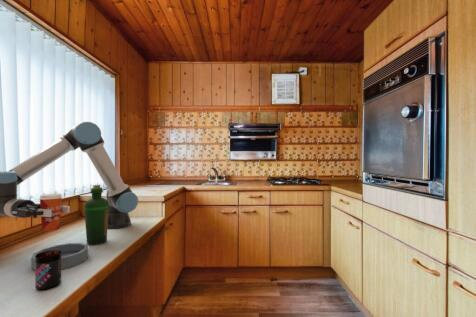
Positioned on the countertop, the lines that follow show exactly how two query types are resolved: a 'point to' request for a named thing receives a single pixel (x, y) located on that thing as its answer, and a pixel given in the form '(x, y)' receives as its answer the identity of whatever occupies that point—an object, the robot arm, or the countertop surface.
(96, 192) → the bottle
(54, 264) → the supplement container
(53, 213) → the paper cup
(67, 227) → the countertop surface
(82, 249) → the bowl
